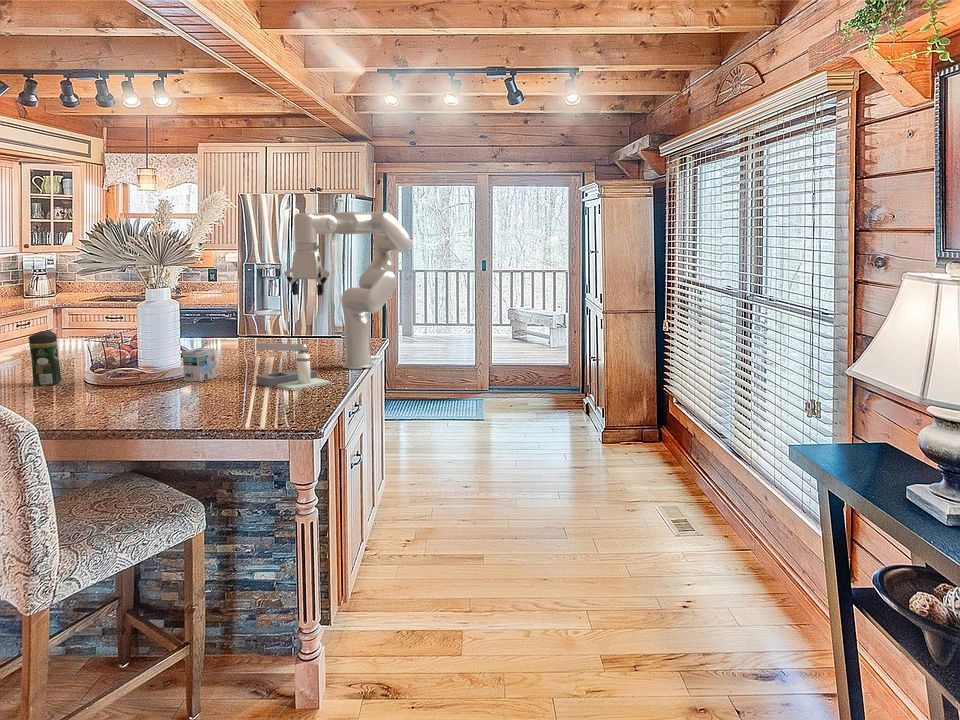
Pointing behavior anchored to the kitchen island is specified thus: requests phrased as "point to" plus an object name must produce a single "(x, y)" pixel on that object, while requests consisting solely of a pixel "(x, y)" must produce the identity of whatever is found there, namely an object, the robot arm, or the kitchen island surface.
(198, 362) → the light bulb box
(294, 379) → the gray base with post
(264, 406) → the kitchen island surface
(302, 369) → the plug
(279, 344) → the silver metal bar
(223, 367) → the kitchen island surface
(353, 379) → the kitchen island surface
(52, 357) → the coffee jar
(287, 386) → the mat
